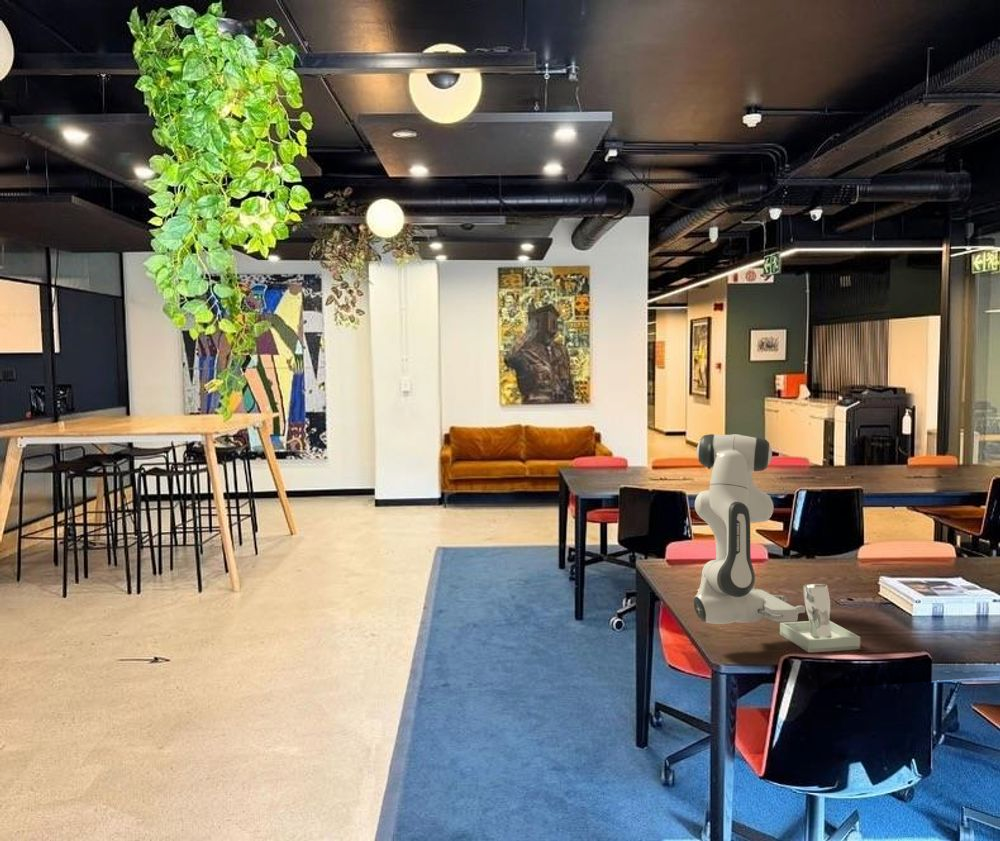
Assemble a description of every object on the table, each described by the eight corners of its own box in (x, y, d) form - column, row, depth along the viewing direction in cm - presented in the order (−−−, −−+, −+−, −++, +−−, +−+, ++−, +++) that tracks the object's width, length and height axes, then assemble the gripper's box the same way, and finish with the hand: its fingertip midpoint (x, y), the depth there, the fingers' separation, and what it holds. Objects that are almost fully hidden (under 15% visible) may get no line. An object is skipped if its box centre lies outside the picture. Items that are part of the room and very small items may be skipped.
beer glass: (826, 633, 214) (820, 582, 215) (839, 638, 207) (832, 586, 208) (804, 636, 214) (798, 585, 215) (816, 641, 207) (809, 588, 208)
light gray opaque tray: (779, 634, 218) (780, 622, 217) (828, 631, 220) (828, 619, 220) (808, 652, 203) (808, 640, 203) (860, 649, 205) (860, 637, 205)
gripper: (769, 606, 197) (815, 603, 199) (733, 585, 217) (776, 583, 219) (769, 629, 197) (815, 626, 199) (733, 606, 217) (775, 604, 219)
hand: (794, 603), depth 209 cm, fingers open, 8 cm apart
